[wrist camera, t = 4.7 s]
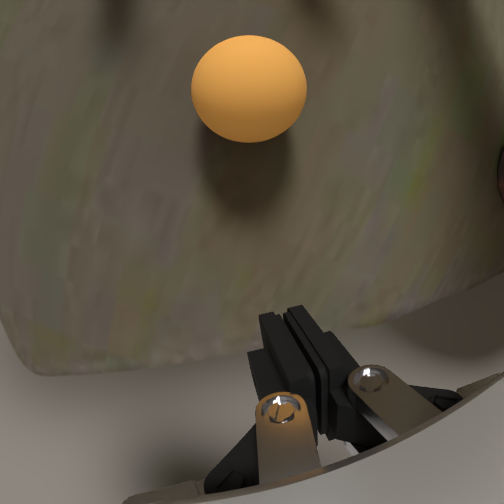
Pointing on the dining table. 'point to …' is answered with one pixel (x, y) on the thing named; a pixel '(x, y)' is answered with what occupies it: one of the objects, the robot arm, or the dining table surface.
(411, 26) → the dining table surface
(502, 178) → the mortar and pestle
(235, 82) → the ball
